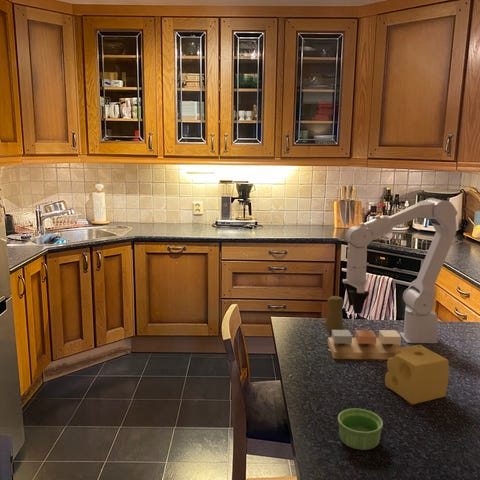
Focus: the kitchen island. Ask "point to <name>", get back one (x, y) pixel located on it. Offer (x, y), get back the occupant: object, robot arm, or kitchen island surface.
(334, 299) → the butternut squash
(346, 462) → the kitchen island surface
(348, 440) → the ramekin
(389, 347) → the button board
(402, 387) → the cheese
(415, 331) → the robot arm
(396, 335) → the button cream
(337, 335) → the button slate
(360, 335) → the button terracotta
